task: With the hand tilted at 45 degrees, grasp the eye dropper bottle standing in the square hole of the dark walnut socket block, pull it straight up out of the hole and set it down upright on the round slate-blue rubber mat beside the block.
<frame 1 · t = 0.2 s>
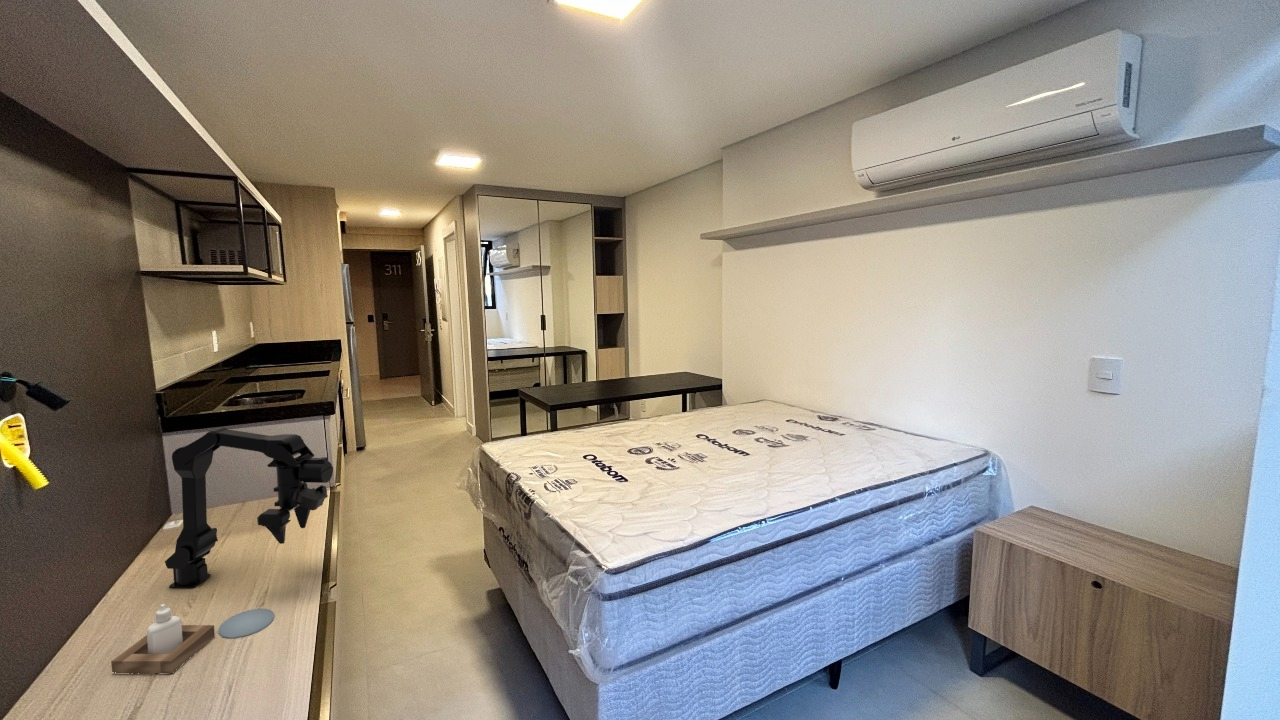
hand: (292, 535, 142), 15 cm above the table, tool pointing down, fingers open, 9 cm apart
slate-blue rubber mat: (247, 623, 126), on the table
walnut socket block: (166, 654, 115), on the table
eye dropper bottle: (166, 655, 115), resting in walnut socket block
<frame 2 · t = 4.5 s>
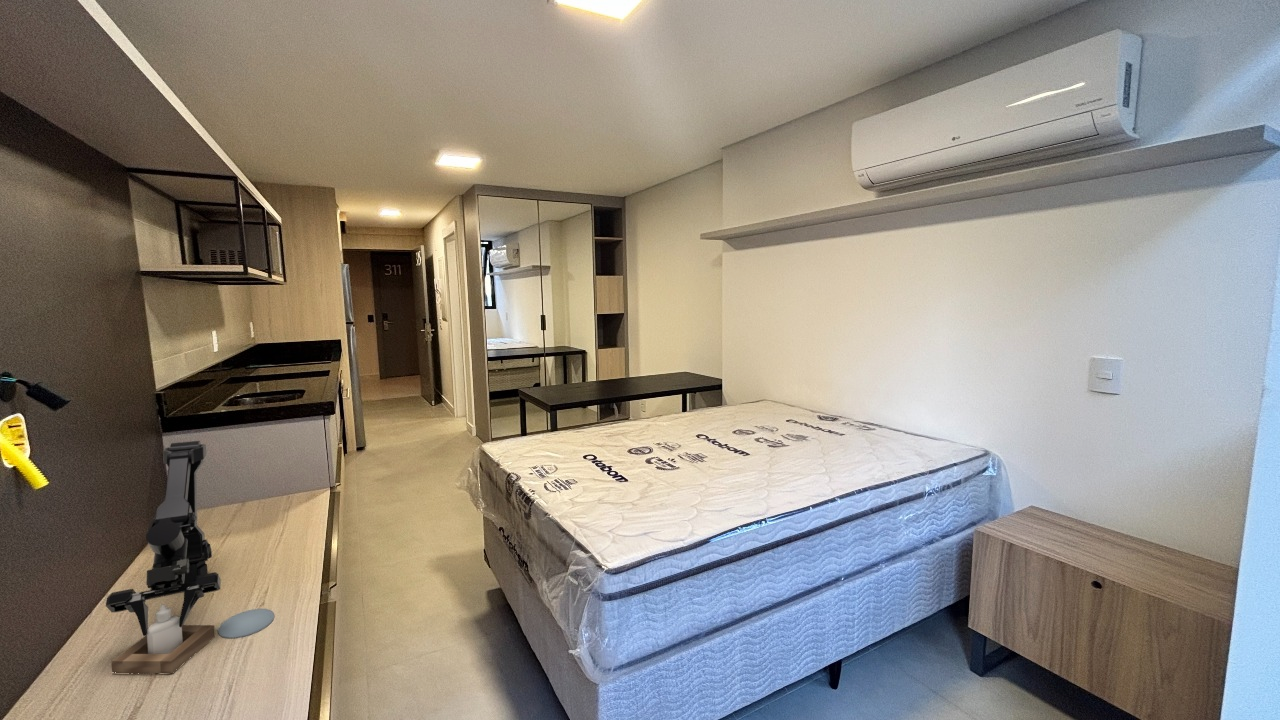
hand: (162, 631, 113), 7 cm above the table, tool tilted 45°, fingers closed on eye dropper bottle, 5 cm apart
eye dropper bottle: (166, 655, 115), resting in walnut socket block, touching gripper
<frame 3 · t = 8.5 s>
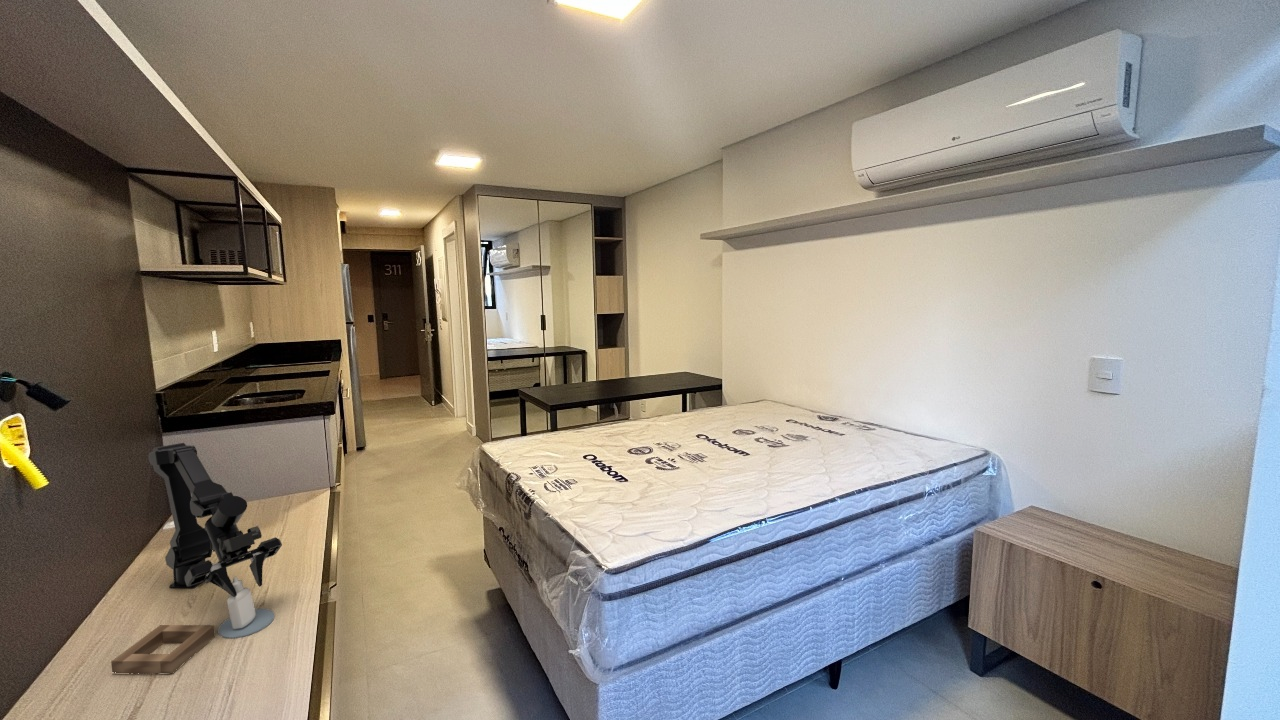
hand: (248, 590, 125), 9 cm above the table, tool tilted 45°, fingers open, 5 cm apart
eye dropper bottle: (244, 623, 126), resting on slate-blue rubber mat, touching gripper
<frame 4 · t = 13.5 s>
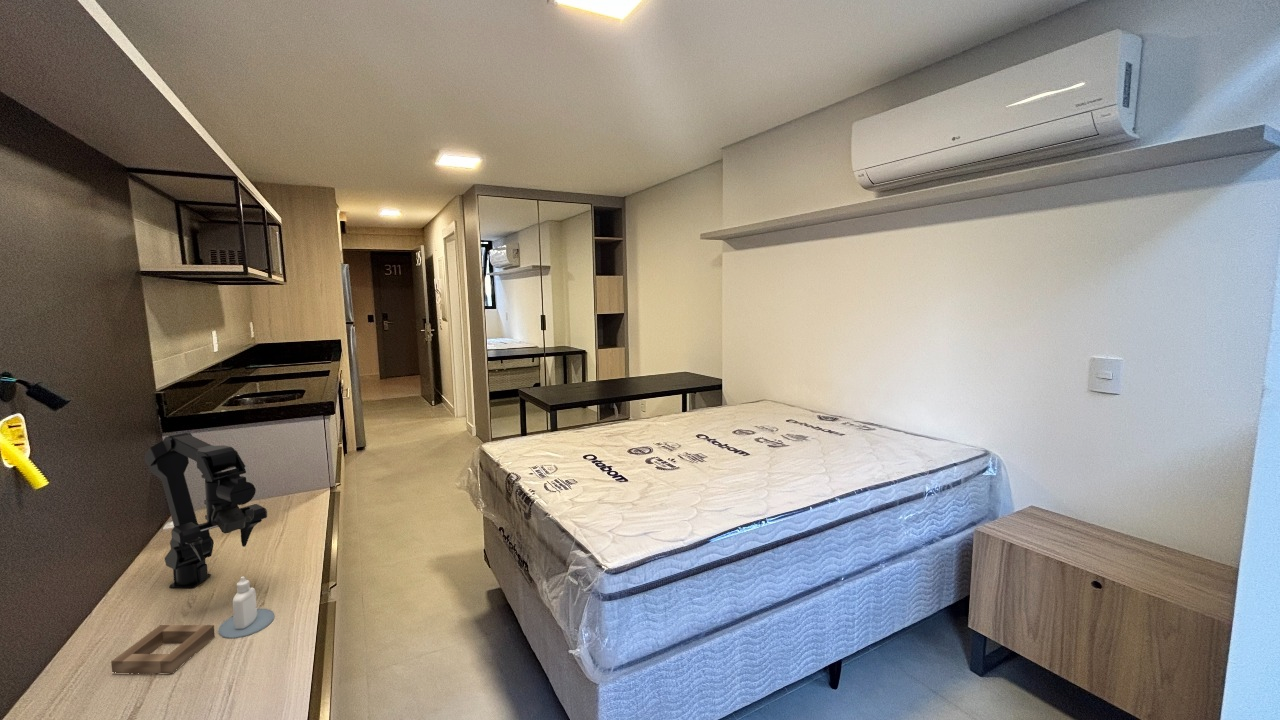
hand: (223, 553, 134), 13 cm above the table, tool pointing down, fingers open, 9 cm apart
eye dropper bottle: (246, 623, 126), resting on slate-blue rubber mat
at the end: eye dropper bottle inside the target area on the slate-blue rubber mat (0.3 cm from its centre), point 0.2 cm above the slate-blue rubber mat's base; eye dropper bottle tilted 1°; the gripper is holding nothing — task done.
